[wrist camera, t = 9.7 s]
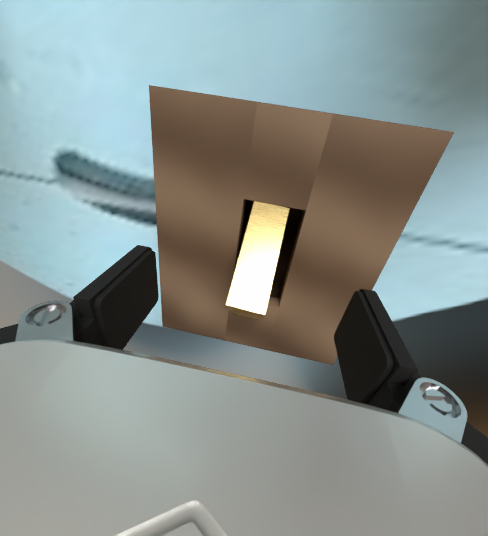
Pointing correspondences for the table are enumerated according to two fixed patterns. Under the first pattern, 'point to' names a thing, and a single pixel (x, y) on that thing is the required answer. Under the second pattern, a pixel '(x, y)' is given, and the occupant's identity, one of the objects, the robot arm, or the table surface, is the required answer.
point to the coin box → (281, 194)
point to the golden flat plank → (257, 260)
